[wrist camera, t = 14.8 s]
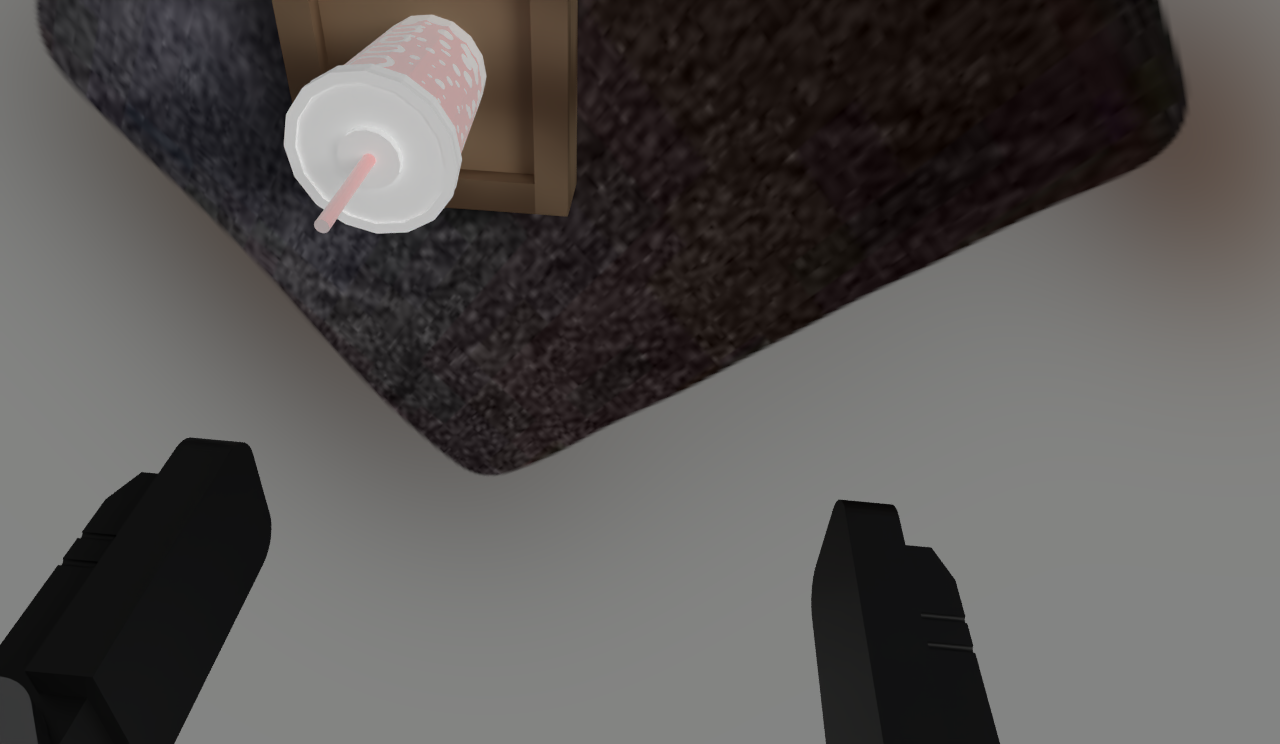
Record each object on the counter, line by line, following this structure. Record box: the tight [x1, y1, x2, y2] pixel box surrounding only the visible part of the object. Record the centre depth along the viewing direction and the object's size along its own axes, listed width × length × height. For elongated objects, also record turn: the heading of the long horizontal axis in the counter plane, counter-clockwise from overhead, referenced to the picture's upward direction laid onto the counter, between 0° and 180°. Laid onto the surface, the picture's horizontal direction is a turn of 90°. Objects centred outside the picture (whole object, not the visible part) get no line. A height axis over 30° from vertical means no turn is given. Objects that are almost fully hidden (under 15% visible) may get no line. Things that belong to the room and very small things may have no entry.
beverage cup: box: [284, 15, 486, 233], centre depth 33 cm, size 6×6×14 cm
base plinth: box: [272, 0, 578, 216], centre depth 39 cm, size 12×12×4 cm
